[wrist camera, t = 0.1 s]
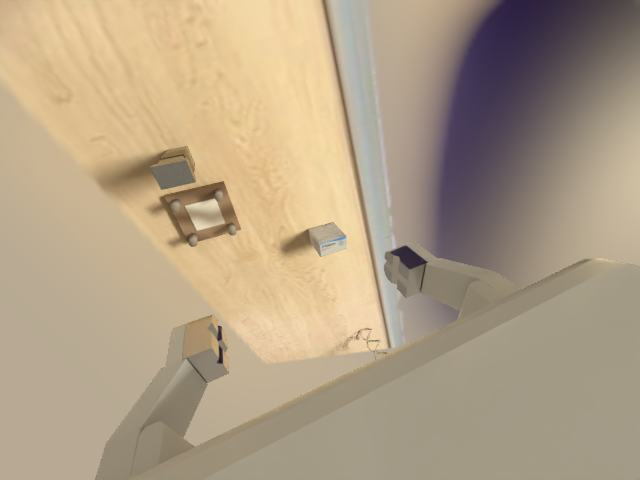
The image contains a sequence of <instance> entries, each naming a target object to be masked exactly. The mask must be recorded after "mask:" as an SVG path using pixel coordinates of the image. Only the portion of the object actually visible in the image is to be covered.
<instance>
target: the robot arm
mask: <svg viewBox="0 0 640 480" xmlns="http://www.w3.org/2000/svg"><path fill="white" fill-rule="evenodd" d="M385 259H386V260H387V262H386V263H385V265H384V271H385V274H386V276H387V278H388V280H389V281H390V282H391V283H394V284H397V289H398V290H399V291H400V292H401V293H402V294H403V296H404V297H406V298H407V297H409V296H412V295H414V294H417V293H419V292H421V293H422V294H424V295H427V296H429V297H431V298H433V299H435V300H438V301H440V302H442V303H444V304H446V305H449V306H451V307H453V308H455V309H457V310H460V314H459V317H458V320H457V321H455V322H453V323H451V324H448V325H446V326H444V327H442V328H440V329H438V330H436V331H434V332H432V333H430V334H428V335H426V336H424V337H422V338H419V339H417V340H415V341H413V342H411V343H409V344H407V345H405V346H403V347H401V348H399V349H397V350H395V351H393V352H391V353H388V354H386V355H385V356H382V357H380V358H378V359H376V360H374V361H372V362H370V363H368V364H366V365H364V366H362V367H360V368H357V369H355V370H353V371H351V372H349V373H347V374H345V375H343V376H341V377H339V378H337V379H335V380H333V381H331V382H328V383H326V384H325V385H322V386H320V387H318V388H316V389H314V390H312V391H310V392H308V393H306V394H304V395H302V396H300V397H297V398H295V399H293V400H291V401H289V402H287V403H285V404H283V405H281V406H279V407H277V408H275V409H273V410H271V411H269V412H267V413H264V414H262V415H260V416H258V417H256V418H254V419H252V420H250V421H248V422H246V423H244V424H242V425H240V426H238V427H235V428H233V429H231V430H229V431H227V432H225V433H223V434H221V435H219V436H217V437H215V438H213V439H211V440H209V441H207V442H205V443H202V444H200V445H198V446H196V447H194V446H193V445H192V444H190V443H189V442H188V441H187V440H185V439H184V438H183V437H184V435H185V433H186V431H187V429H188V426H189V424H190V422H191V420H192V418H193V415H194V413H195V411H196V409H197V407H198V404H199V402H200V400H201V398H202V395H203V393H204V391H205V389H206V387H207V383H209V382H211V381H213V380H215V379H218V378H220V377H222V376H224V375H226V374H228V373H229V364H228V363H229V362H228V357H227V355H226V353H225V352H226V350H227V348H228V347H227V339H226V335H225V333H224V330H223V328H222V327H221V326H218V320H217V318H216V317H215V315H210V316H207V317H204V318H201V319H198V320H196V321H192V322H190V323H187V324H184V325H181V326H179V327H176V328H174V329H173V330H172V332H171V337H170V343H169V349H168V356H167V361H166V367H164V368H161V369H160V371H159V372H158V374H157V375H156V376H155V378H154V379H153V380H152V382H151V383H150V384H149V386H148V387H147V388H146V390H145V391H144V393H143V394H142V395H141V397H140V398H139V399H138V401H137V402H136V403H135V405H134V406H133V407H132V409H131V410H130V412H129V413H128V415H127V416H126V417H125V418H124V420H123V421H122V422H121V424H120V425H119V426H118V428H117V429H116V430H115V432H114V433H113V435H112V436H111V437H110V439H109V440H108V441H107V443H106V445H105V448H104V452H103V455H102V458H101V462H100V465H99V468H98V472H97V475H96V479H95V480H640V266H638V265H634V264H629V263H623V262H617V261H611V260H606V259H599V258H588V259H584V260H581V261H579V262H577V263H575V264H572V265H571V266H568V267H566V268H564V269H562V270H560V271H558V272H556V273H554V274H552V275H550V276H548V277H546V278H544V279H542V280H540V281H537V282H535V283H533V284H531V285H529V286H527V287H525V288H523V289H521V288H519V287H518V286H516V285H515V284H513V283H512V282H510V281H508V280H507V279H505V278H504V277H502V276H501V275H499V274H498V273H496V272H493V271H490V270H485V269H482V268H478V267H474V266H470V265H466V264H462V263H458V262H454V261H450V260H446V259H442V258H440V259H437V258H435V257H434V256H433V255H431V254H430V253H429V252H427V251H426V250H425V249H423V248H422V247H421V246H419V245H418V244H416V243H415V242H411V243H408V244H405V245H403V246H400V247H397V248H395V249H392V250H389V251H387V252H386V253H385Z"/></svg>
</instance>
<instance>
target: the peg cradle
mask: <svg viewBox="0 0 640 480" xmlns="http://www.w3.org/2000/svg"><path fill="white" fill-rule="evenodd" d="M164 197H165V199H166V201H167V203H168V205H169V207H170V210H171V211H172V212H173V214H174V216H175V218H176V220H177V222H178V224H179V226H180V227H181V229H182V231H183V233H184V235H185V237H186V239H187V241H188V242H189V245H190V246H192V247H194V246H196V245H197V242H198V241H202V240H205V239H209V238H212V237H216V236H219V235H223V234H226V233H229V234H230V235H235V234H236V231H237V230H240V229H241V228H240V225H239V222H238V220H237V217H236V214H235V211H234V209H233V206H232V203H231V200H230V197H229V195H228V192H227V189H226V186H225V184H224V181H223V182H219V183H215V184H210V185H206V186H202V187H197V188H193V189H189V190H184V191H180V192H176V193H171V194H167V195H165V196H164Z"/></svg>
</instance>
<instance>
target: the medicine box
mask: <svg viewBox="0 0 640 480" xmlns="http://www.w3.org/2000/svg"><path fill="white" fill-rule="evenodd" d="M308 230H309V237H310V242H311V243H312V245H313V246H314V248H315V249H316V251H317V252H318V254H319V255H320V257H321V256H325V255H328V254H331V253H334V252H338V251H341V250H344V249H346V235H345V234H344V233H343V232H342V231H341V230H340V229H339V228H338V227H337V226H336V225H335V223H334V222H332V223H329V224H325V225H322V226H318V227H315V228H311V229H308Z"/></svg>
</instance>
